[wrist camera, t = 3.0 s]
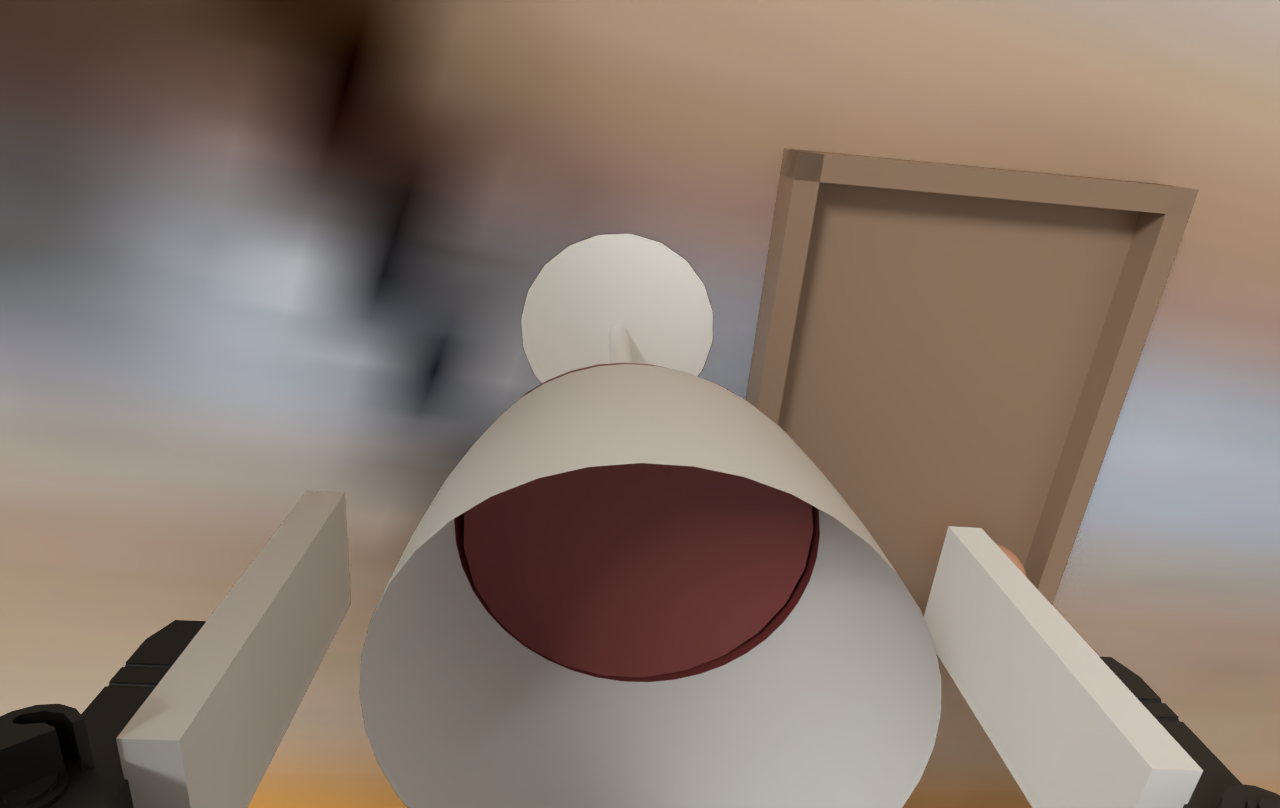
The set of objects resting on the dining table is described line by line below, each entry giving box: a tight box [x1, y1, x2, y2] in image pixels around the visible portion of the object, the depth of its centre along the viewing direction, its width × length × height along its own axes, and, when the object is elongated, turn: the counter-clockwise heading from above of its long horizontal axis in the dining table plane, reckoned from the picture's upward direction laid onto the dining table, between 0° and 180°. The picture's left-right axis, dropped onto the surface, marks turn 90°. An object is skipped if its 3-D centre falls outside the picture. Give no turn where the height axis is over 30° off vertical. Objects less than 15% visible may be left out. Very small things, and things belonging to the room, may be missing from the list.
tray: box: [746, 149, 1199, 617], centre depth 34 cm, size 22×16×2 cm
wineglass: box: [359, 234, 941, 808], centre depth 22 cm, size 9×10×22 cm
